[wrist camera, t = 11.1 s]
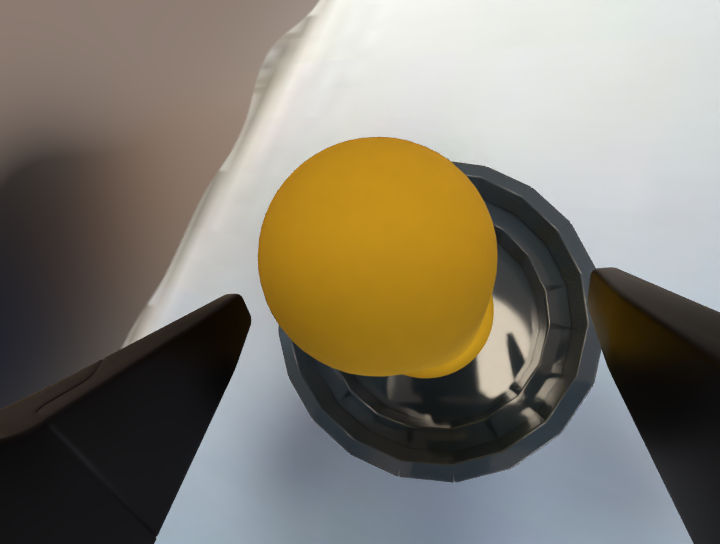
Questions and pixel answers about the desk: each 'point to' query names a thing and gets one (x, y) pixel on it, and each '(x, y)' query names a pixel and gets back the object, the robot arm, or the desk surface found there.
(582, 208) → the desk surface
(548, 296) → the slate bowl
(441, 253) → the yellow blob
